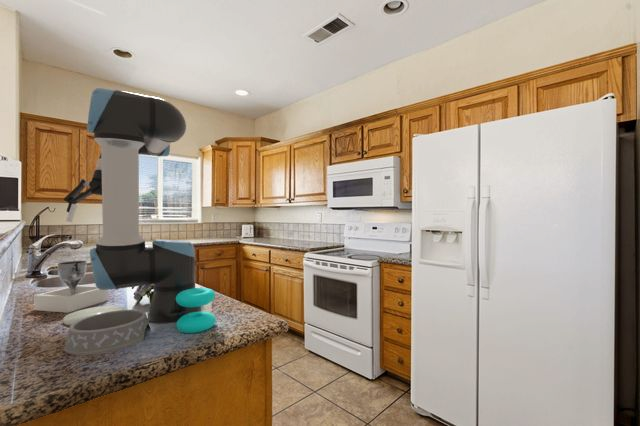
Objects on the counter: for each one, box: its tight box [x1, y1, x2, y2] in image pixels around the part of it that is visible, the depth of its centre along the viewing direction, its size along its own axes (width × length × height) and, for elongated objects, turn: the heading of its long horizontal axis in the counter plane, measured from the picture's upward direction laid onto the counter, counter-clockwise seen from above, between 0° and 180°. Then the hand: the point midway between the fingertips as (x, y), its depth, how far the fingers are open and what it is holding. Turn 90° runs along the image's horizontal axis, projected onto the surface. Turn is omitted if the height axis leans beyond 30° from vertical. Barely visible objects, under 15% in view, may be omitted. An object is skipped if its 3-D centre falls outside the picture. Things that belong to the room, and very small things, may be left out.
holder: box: [33, 284, 109, 314], centre depth 110 cm, size 14×14×5 cm
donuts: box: [175, 287, 216, 334], centre depth 86 cm, size 10×10×10 cm
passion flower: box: [131, 284, 154, 306], centre depth 110 cm, size 11×11×12 cm
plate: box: [62, 305, 125, 327], centre depth 96 cm, size 15×15×1 cm
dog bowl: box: [63, 309, 151, 356], centre depth 79 cm, size 17×18×5 cm
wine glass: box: [57, 260, 87, 295], centre depth 110 cm, size 8×8×15 cm
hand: (90, 225), depth 117 cm, fingers open, 13 cm apart
